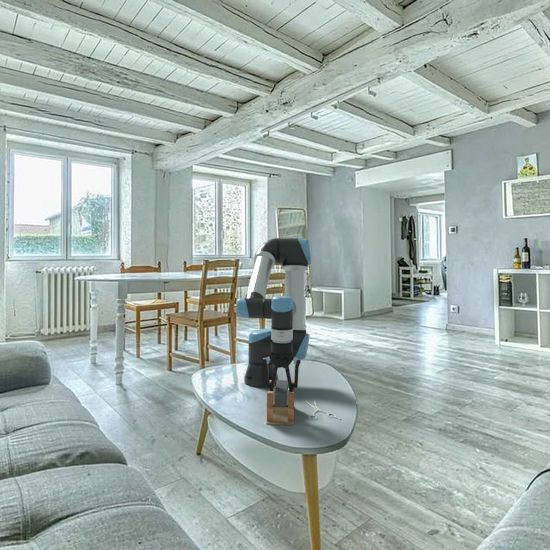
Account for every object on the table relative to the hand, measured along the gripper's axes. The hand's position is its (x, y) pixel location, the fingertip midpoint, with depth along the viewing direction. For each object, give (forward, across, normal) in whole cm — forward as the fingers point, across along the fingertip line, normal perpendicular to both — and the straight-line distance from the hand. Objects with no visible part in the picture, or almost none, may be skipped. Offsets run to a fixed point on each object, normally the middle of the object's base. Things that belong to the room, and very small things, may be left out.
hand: (281, 406), depth 135 cm
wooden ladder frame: (+3, 0, 0) cm, 3 cm away
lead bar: (-3, 0, 0) cm, 3 cm away
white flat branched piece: (+4, +13, +6) cm, 15 cm away
